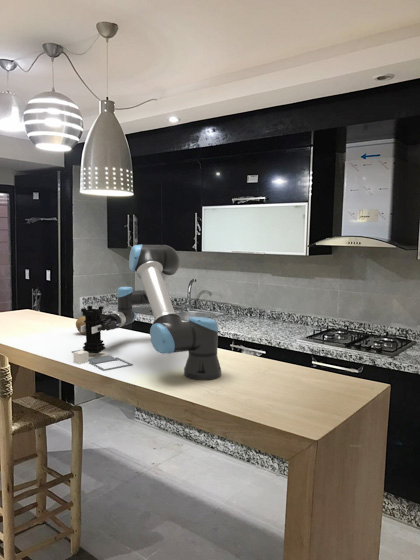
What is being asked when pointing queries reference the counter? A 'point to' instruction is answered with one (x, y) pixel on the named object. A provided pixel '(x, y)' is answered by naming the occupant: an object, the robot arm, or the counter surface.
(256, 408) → the counter surface
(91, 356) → the track
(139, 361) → the counter surface
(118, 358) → the grey flat square frame
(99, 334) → the chess piece
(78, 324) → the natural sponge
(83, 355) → the die
